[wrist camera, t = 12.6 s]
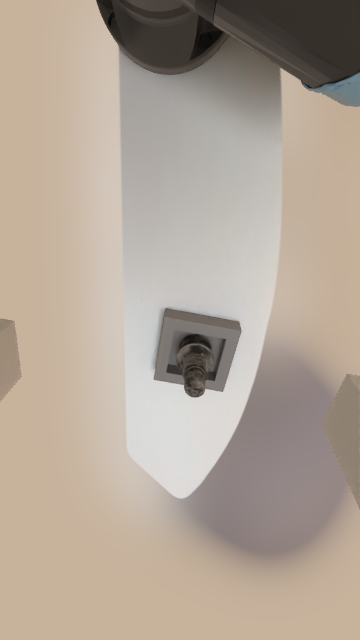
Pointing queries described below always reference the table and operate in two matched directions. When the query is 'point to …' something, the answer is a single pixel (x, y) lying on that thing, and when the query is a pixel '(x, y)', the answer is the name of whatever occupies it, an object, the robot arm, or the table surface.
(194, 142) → the table surface
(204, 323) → the grey square tray
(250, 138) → the table surface
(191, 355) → the dark grey tall piece
